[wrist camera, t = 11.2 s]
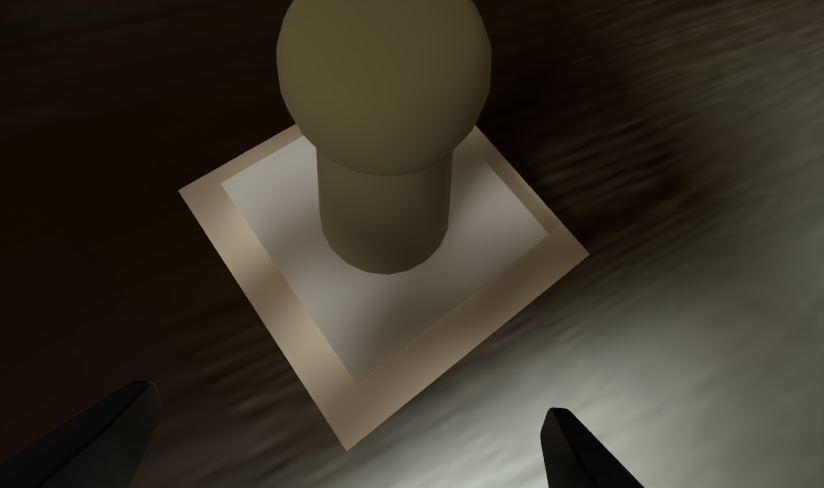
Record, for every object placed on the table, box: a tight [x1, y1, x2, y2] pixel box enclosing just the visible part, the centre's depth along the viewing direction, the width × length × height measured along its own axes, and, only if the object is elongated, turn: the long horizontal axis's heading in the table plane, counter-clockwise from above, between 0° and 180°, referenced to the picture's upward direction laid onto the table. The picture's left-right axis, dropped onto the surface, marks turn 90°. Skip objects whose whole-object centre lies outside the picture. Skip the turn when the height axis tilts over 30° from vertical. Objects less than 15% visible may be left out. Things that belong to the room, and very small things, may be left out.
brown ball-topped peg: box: [277, 0, 491, 275], centre depth 14 cm, size 6×6×11 cm
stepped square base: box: [178, 124, 590, 451], centre depth 21 cm, size 15×15×4 cm
